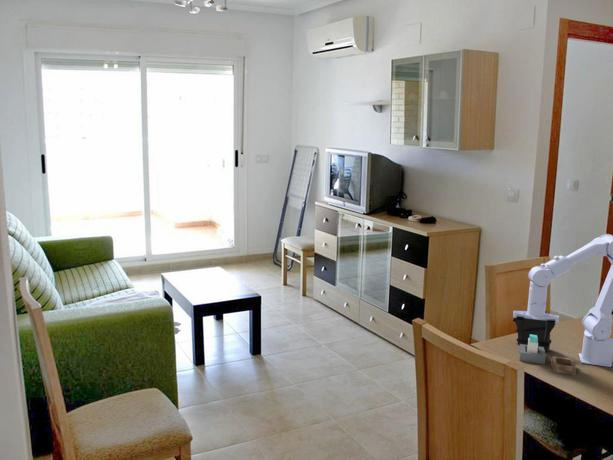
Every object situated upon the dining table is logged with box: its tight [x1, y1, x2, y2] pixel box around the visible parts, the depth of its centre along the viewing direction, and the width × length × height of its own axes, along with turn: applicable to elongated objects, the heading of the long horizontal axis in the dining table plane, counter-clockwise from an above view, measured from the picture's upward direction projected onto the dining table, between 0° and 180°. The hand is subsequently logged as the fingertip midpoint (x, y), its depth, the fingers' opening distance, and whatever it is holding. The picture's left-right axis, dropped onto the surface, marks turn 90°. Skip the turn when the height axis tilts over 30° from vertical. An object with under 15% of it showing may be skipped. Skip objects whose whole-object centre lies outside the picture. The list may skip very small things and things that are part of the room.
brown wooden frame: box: [550, 355, 576, 376], centre depth 192 cm, size 7×8×2 cm
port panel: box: [518, 344, 546, 365], centre depth 200 cm, size 8×8×3 cm
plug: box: [527, 334, 538, 353], centre depth 199 cm, size 3×4×8 cm
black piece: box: [512, 309, 552, 352], centre depth 209 cm, size 4×13×15 cm, turn 54°
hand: (533, 339), depth 199 cm, fingers open, 7 cm apart
